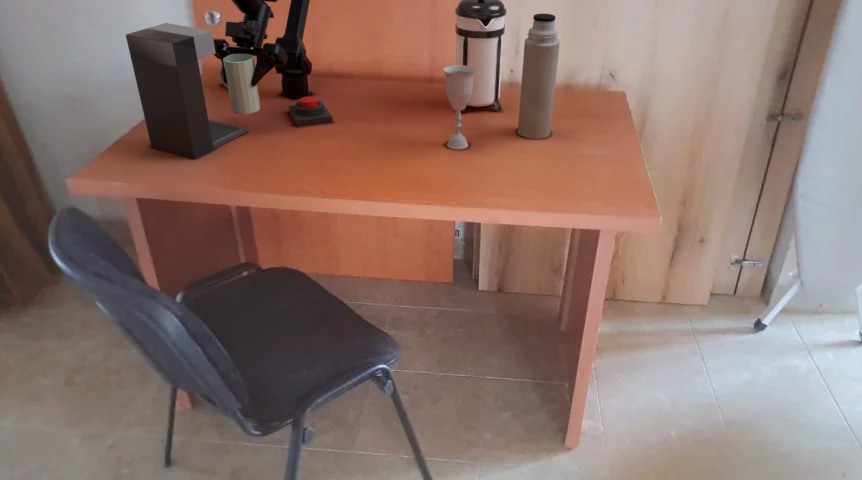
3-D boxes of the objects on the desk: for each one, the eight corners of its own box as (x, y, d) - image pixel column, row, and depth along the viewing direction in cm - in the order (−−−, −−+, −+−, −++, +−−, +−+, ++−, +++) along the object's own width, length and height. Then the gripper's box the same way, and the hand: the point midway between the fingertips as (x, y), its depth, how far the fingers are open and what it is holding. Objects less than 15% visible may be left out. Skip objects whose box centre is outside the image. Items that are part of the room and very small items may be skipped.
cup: (257, 102, 174) (250, 52, 167) (262, 111, 169) (255, 60, 162) (229, 106, 172) (221, 55, 165) (234, 115, 166) (225, 63, 160)
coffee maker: (206, 122, 178) (187, 16, 163) (248, 132, 172) (232, 24, 158) (151, 147, 164) (125, 34, 150) (195, 159, 159) (172, 43, 144)
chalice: (476, 141, 167) (479, 67, 157) (468, 152, 162) (471, 75, 152) (447, 137, 169) (448, 63, 159) (438, 148, 164) (439, 72, 154)
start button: (299, 104, 180) (298, 97, 179) (315, 102, 181) (315, 95, 180) (302, 109, 176) (301, 103, 175) (319, 107, 178) (319, 101, 177)
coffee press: (518, 103, 189) (526, -14, 173) (480, 119, 179) (486, -3, 163) (469, 89, 199) (473, -23, 183) (431, 103, 189) (431, -14, 173)
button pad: (289, 112, 183) (287, 99, 182) (322, 108, 186) (321, 95, 184) (297, 127, 175) (295, 114, 173) (332, 122, 177) (331, 109, 175)
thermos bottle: (523, 124, 176) (532, 9, 161) (554, 129, 174) (566, 13, 158) (513, 135, 170) (522, 17, 155) (544, 141, 168) (556, 20, 152)
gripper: (203, 3, 163) (186, 64, 160) (276, 8, 158) (259, 71, 155) (226, 28, 173) (210, 86, 171) (295, 34, 169) (279, 94, 166)
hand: (238, 84), depth 165 cm, fingers closed on cup, 7 cm apart
